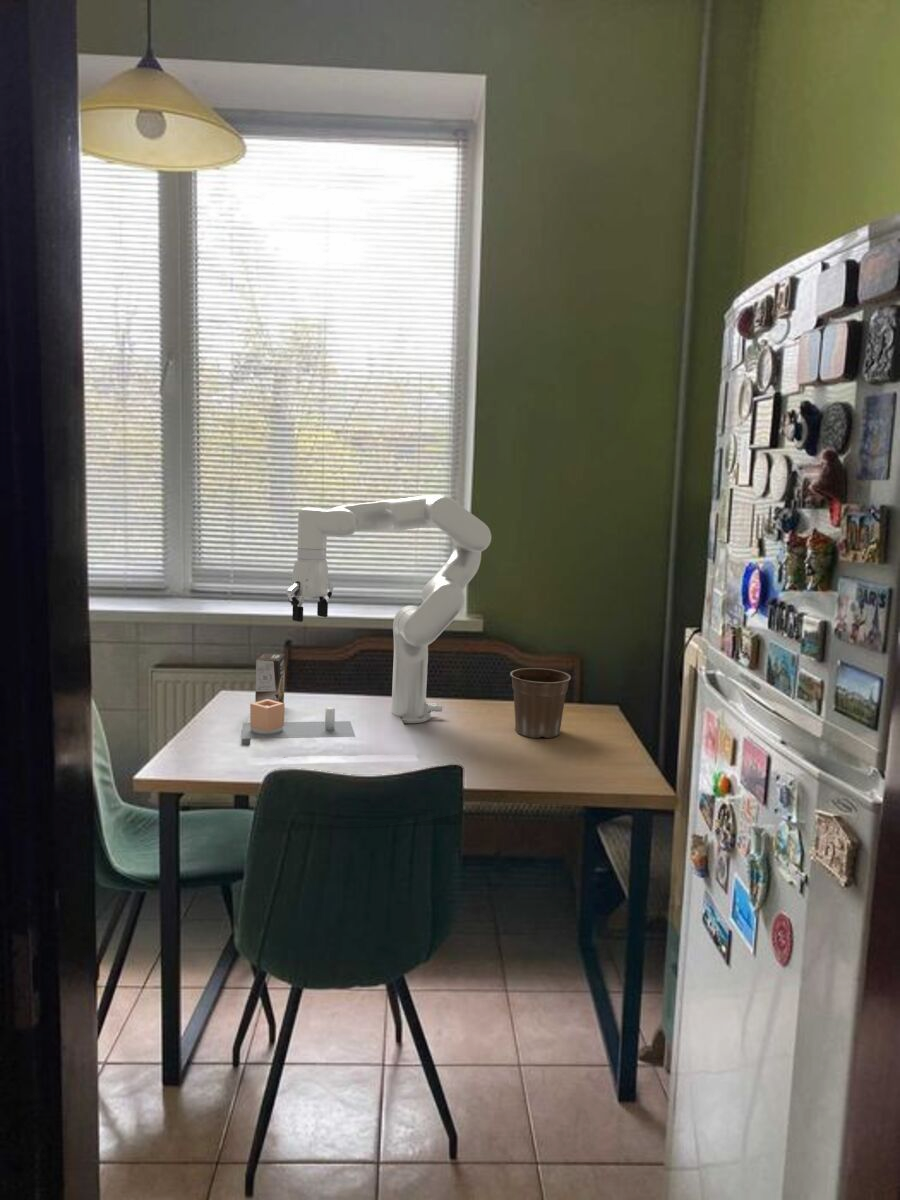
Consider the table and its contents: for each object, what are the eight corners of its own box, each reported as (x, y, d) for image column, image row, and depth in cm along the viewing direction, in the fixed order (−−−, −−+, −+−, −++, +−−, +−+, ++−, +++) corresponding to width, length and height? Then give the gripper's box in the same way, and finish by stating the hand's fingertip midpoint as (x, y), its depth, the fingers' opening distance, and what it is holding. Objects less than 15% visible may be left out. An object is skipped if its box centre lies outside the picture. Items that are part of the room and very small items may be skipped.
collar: (267, 721, 226) (267, 698, 225) (284, 726, 223) (284, 703, 222) (250, 726, 221) (250, 703, 220) (267, 731, 218) (267, 708, 217)
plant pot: (497, 734, 234) (500, 675, 231) (520, 719, 248) (524, 664, 245) (553, 745, 226) (558, 685, 224) (574, 730, 240) (579, 673, 238)
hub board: (350, 726, 233) (351, 699, 232) (355, 742, 221) (356, 713, 220) (242, 728, 227) (243, 700, 226) (242, 744, 215) (242, 715, 214)
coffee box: (277, 718, 237) (278, 660, 235) (254, 717, 238) (255, 659, 235) (284, 709, 246) (285, 653, 244) (262, 707, 247) (263, 652, 244)
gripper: (322, 551, 238) (321, 613, 241) (278, 555, 224) (276, 620, 227) (343, 554, 234) (342, 616, 237) (299, 558, 220) (298, 625, 223)
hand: (310, 618), depth 232 cm, fingers open, 9 cm apart
